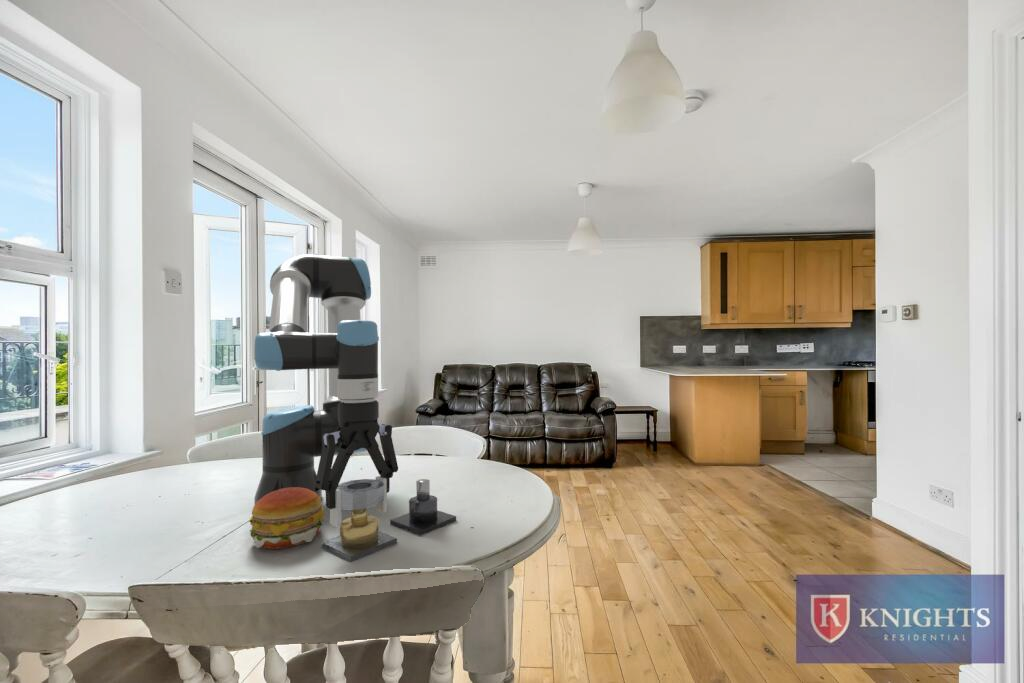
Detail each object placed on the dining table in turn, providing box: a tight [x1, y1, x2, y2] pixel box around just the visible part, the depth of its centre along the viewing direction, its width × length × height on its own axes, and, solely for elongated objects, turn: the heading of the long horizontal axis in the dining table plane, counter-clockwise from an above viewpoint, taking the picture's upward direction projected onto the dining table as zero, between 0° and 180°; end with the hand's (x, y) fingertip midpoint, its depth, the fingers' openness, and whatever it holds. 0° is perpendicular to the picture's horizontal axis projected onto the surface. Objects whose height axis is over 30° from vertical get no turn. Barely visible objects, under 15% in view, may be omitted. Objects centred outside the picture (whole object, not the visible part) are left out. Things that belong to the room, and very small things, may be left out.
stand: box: [389, 478, 457, 537], centre depth 100 cm, size 10×10×9 cm
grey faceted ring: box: [337, 478, 384, 511], centre depth 89 cm, size 9×9×3 cm
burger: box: [249, 487, 325, 550], centre depth 92 cm, size 13×14×10 cm
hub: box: [321, 508, 398, 563], centre depth 88 cm, size 10×10×7 cm
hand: (359, 517), depth 88 cm, fingers closed on grey faceted ring, 9 cm apart
